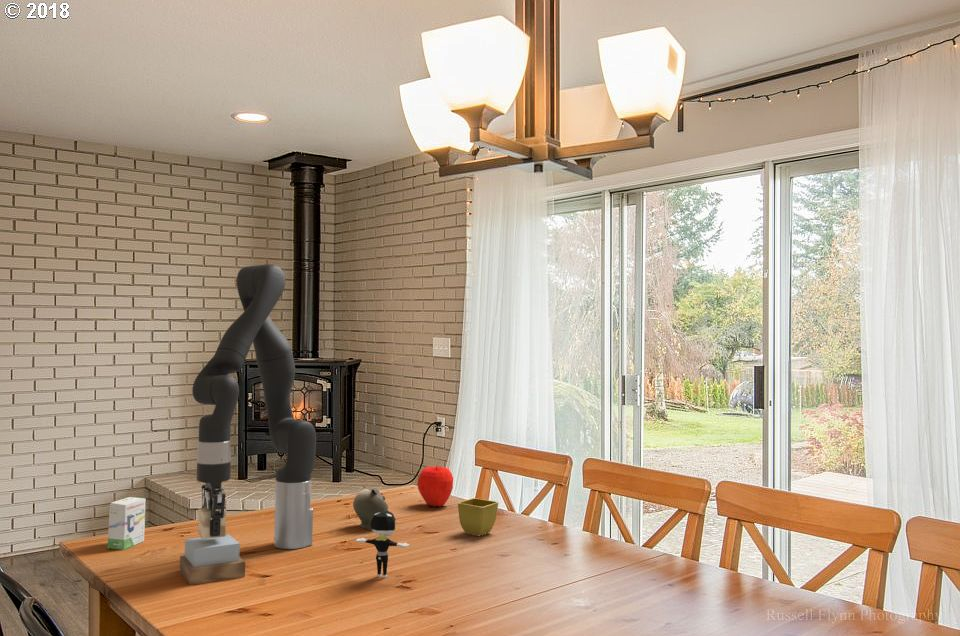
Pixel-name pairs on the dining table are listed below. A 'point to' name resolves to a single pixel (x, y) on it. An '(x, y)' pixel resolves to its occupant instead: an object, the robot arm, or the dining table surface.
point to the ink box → (126, 523)
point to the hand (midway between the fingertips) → (212, 532)
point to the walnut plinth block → (211, 571)
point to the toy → (382, 539)
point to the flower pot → (477, 515)
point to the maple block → (205, 524)
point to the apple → (435, 485)
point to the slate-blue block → (211, 550)
